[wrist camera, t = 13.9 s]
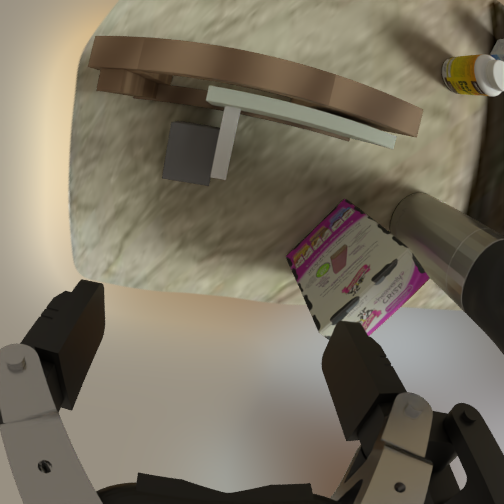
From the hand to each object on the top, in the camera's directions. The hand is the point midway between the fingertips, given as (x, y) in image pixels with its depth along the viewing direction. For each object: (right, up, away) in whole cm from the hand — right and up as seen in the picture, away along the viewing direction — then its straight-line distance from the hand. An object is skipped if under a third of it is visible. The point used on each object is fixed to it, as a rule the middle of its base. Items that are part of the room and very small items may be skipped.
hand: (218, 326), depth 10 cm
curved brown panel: (+1, +20, +24) cm, 31 cm away
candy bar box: (+11, +4, +32) cm, 34 cm away
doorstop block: (-6, +14, +26) cm, 30 cm away
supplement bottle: (+30, +27, +23) cm, 47 cm away
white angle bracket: (+4, +15, +25) cm, 30 cm away
